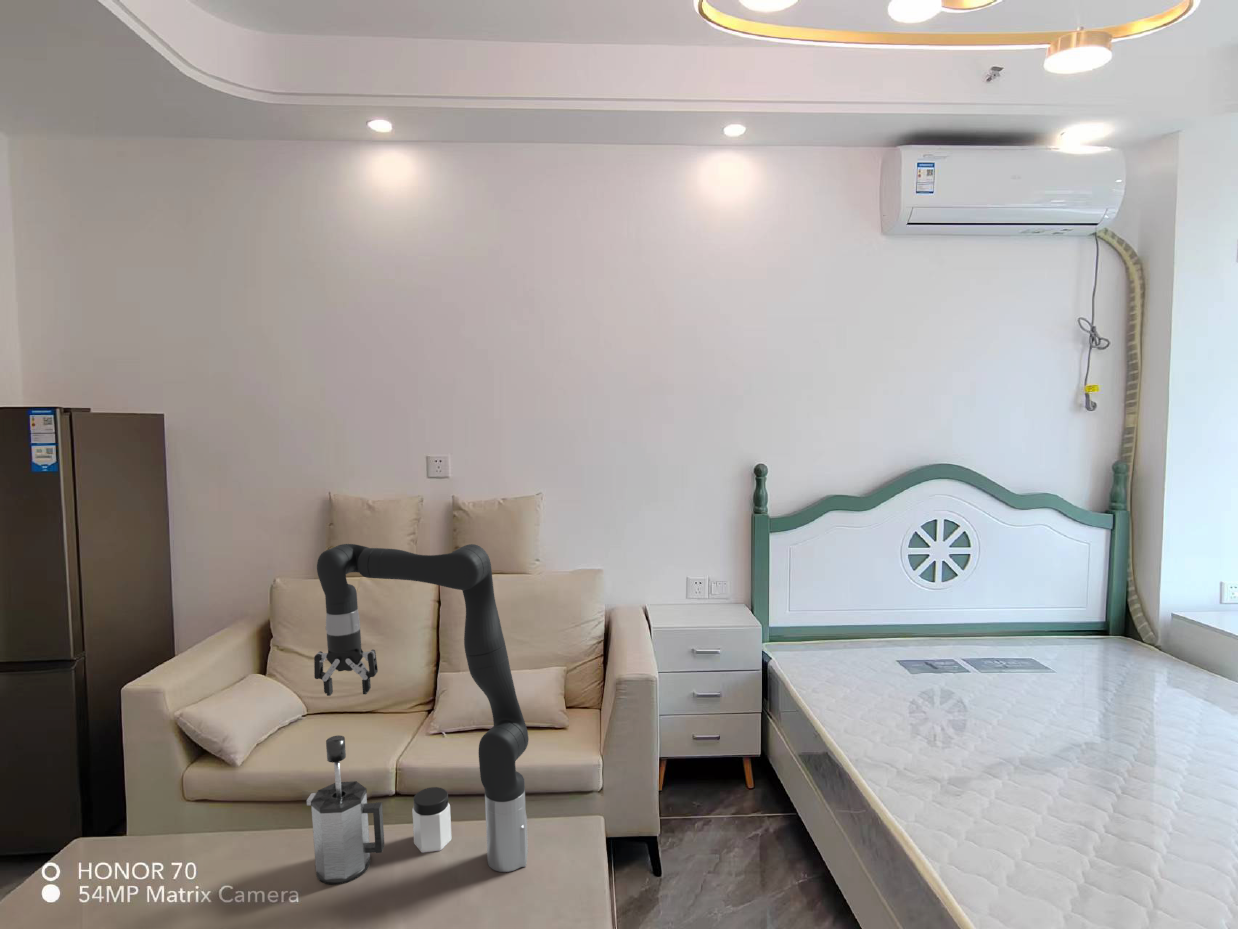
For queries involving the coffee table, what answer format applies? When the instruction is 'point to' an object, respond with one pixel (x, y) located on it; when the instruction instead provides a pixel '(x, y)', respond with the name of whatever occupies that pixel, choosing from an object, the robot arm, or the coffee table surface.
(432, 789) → the jar
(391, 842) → the coffee table surface
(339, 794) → the plunger
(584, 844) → the coffee table surface
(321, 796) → the press pot
